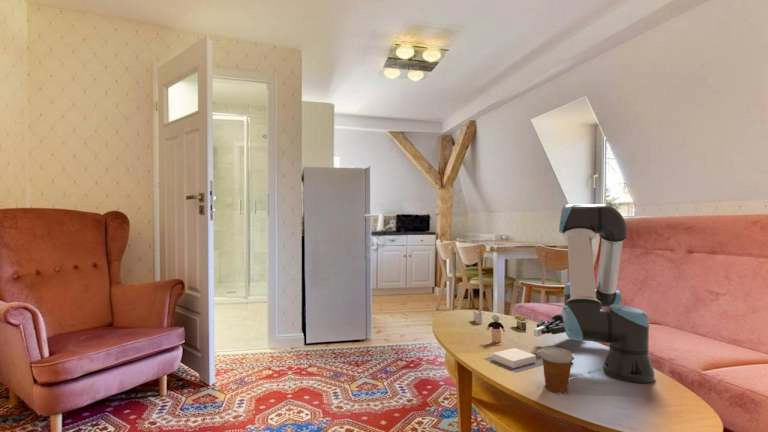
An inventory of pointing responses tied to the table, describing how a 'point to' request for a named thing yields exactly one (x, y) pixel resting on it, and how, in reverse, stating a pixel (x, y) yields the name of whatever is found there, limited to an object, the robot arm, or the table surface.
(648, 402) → the table surface
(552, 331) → the robot arm
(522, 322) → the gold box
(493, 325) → the grandmother figurine
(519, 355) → the tile
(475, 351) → the table surface
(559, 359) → the disposable coffee cup
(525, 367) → the mat
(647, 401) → the table surface
